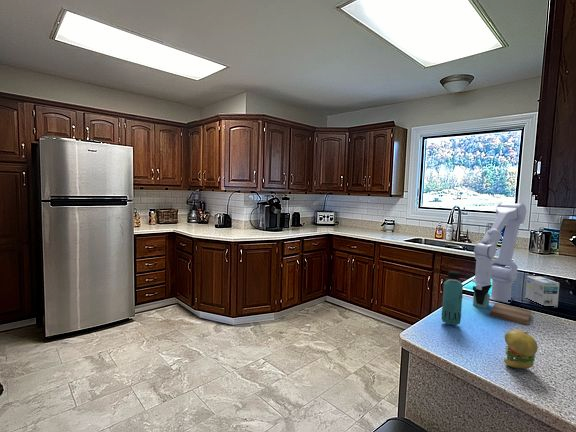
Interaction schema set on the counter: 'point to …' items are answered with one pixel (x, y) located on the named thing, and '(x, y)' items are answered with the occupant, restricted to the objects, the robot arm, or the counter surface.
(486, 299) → the teal cube
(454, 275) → the beverage bottle
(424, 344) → the counter surface
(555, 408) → the counter surface
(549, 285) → the light bulb box
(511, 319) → the walnut base
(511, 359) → the hamburger
